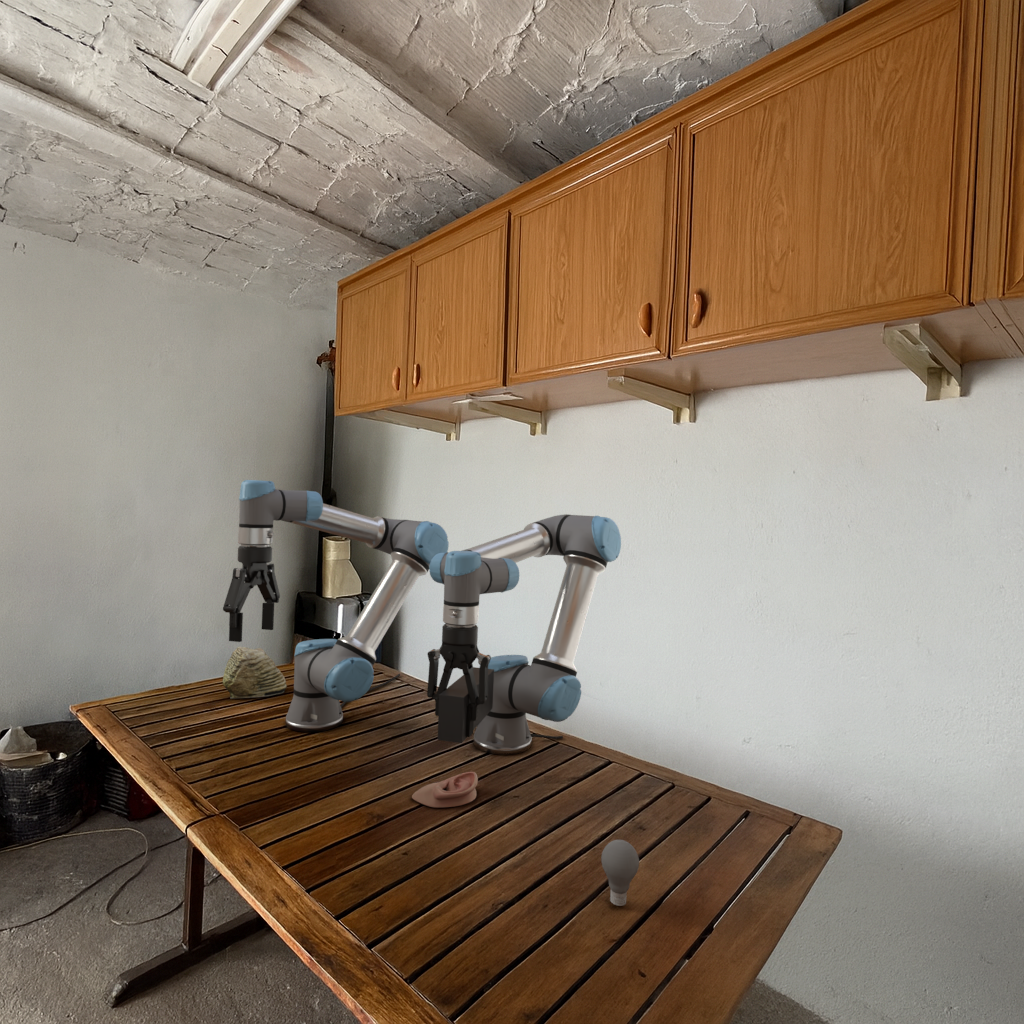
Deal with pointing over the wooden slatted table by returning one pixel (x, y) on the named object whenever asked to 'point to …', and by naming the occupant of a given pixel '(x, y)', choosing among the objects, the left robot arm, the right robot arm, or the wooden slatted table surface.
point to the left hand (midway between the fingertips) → (252, 635)
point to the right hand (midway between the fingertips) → (455, 732)
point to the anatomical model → (449, 791)
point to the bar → (461, 708)
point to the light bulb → (619, 868)
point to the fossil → (252, 674)
